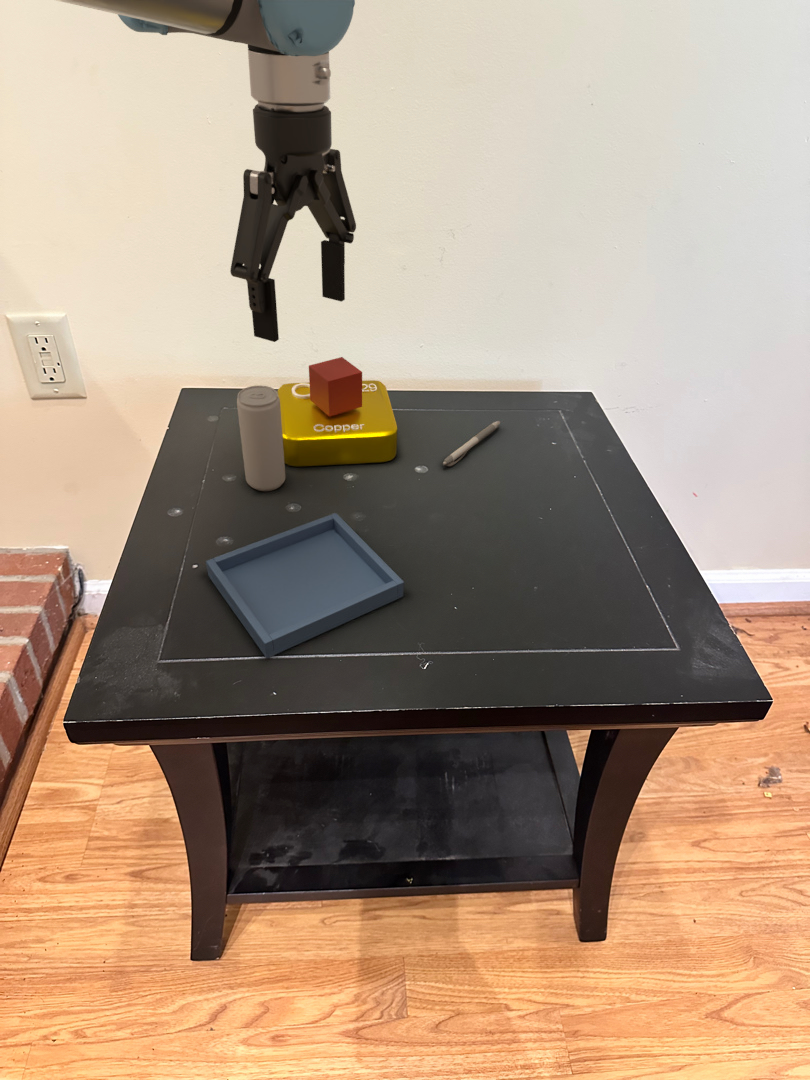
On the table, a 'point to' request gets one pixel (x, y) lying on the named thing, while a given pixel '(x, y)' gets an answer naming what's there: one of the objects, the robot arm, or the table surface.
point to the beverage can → (261, 437)
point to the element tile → (337, 428)
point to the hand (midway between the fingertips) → (301, 317)
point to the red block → (335, 386)
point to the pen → (470, 444)
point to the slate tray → (303, 583)
